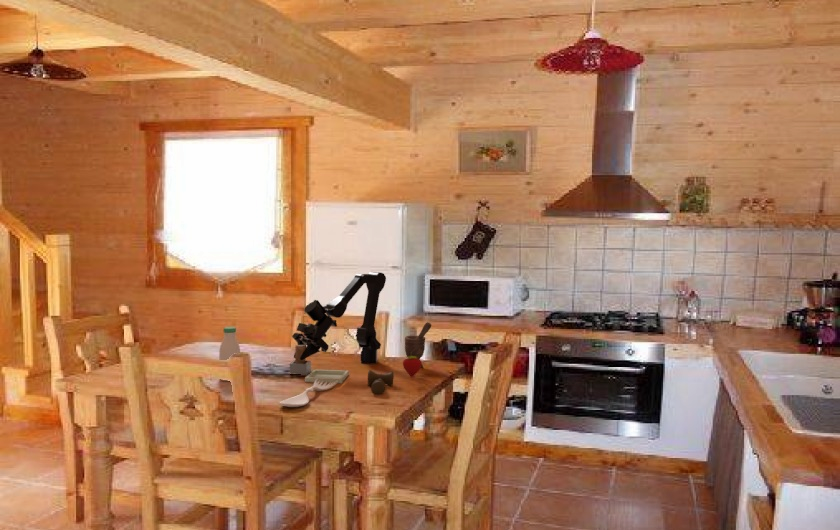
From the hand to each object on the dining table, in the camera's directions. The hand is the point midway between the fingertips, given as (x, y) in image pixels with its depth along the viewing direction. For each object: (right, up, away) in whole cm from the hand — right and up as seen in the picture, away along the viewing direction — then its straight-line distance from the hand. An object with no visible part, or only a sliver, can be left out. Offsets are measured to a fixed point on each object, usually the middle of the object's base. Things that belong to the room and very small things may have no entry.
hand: (297, 358), depth 258 cm
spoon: (+10, -9, -32) cm, 35 cm away
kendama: (+34, -9, -17) cm, 39 cm away
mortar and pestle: (+48, -7, +16) cm, 51 cm away
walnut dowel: (+1, -6, +1) cm, 6 cm away
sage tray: (+13, -7, -7) cm, 16 cm away
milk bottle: (-24, -7, -8) cm, 27 cm away
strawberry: (+45, -8, 0) cm, 46 cm away
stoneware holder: (+1, -7, +1) cm, 7 cm away
